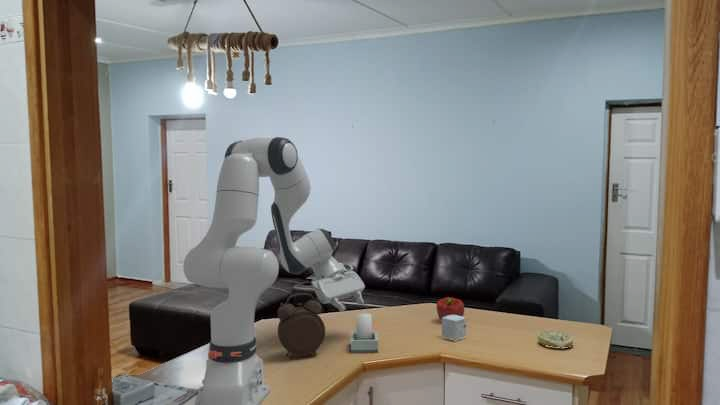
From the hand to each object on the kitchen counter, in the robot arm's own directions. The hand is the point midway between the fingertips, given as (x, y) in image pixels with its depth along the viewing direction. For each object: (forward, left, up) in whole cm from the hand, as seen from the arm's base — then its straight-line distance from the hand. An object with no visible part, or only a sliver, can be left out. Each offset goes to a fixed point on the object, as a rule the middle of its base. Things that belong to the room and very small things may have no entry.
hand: (352, 307), depth 173 cm
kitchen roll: (-3, -4, -12) cm, 13 cm away
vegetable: (+24, -37, -13) cm, 46 cm away
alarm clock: (-9, +16, -13) cm, 23 cm away
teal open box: (-3, -4, -13) cm, 14 cm away
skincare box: (+6, -35, -13) cm, 38 cm away
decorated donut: (-2, -67, -13) cm, 68 cm away
